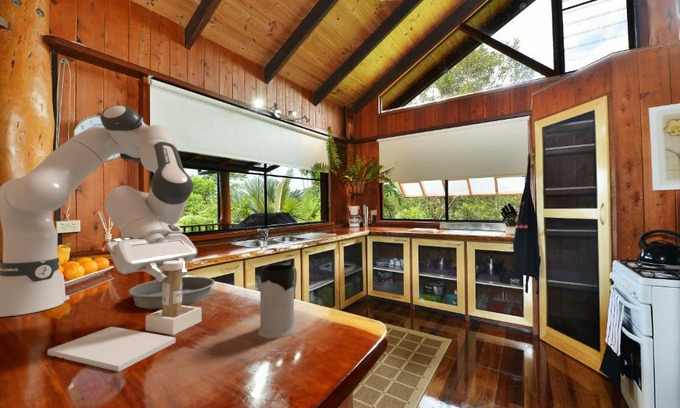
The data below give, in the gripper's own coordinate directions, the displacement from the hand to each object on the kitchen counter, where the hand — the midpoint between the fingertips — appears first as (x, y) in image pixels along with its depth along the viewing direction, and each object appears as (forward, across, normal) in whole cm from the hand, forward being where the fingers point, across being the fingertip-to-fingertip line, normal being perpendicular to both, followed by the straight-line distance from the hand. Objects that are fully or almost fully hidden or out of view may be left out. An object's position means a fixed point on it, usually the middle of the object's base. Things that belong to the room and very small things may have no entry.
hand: (174, 277), depth 72 cm
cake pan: (-6, +19, +23) cm, 30 cm away
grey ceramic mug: (+27, +9, -9) cm, 30 cm away
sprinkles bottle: (+6, 0, +7) cm, 10 cm away
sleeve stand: (+8, +1, +9) cm, 12 cm away
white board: (+7, -12, +10) cm, 18 cm away
